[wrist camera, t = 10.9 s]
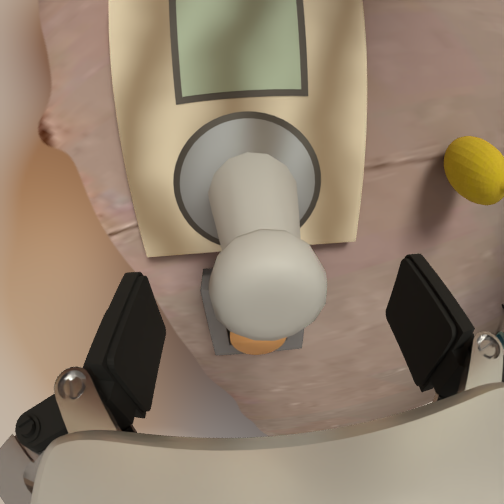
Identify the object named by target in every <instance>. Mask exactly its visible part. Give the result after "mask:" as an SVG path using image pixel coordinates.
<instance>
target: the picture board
mask: <svg viewBox="0 0 504 504" xmlns="http://www.w3.org/2000/svg"><path fill="white" fill-rule="evenodd" d="M109 45H110V61H111V73H112V83H113V93H114V101H115V109H116V116H117V123H118V130H119V136H120V142H121V148H122V153H123V159H124V164H125V169H126V174H127V179H128V183H129V188H130V193H131V197H132V201H133V206H134V210H135V214H136V218H137V222H138V226H139V230H140V233H141V237H142V241H143V244H144V248H145V251H146V255H147V257H158V256H170V255H183V254H196V253H209V252H221V251H222V249H221V245H220V241H219V237H218V233H217V229H216V225H215V221H214V217H213V214H212V210H211V206H210V201H209V196H208V192H209V188H210V185H211V182H212V179H213V175H214V174H215V173H216V171H217V170H218V169H219V168H220V167H221V166H222V165H223V164H224V163H225V162H226V161H227V160H228V159H230V158H233V157H235V156H238V155H241V154H244V153H246V152H251V153H262V154H268V155H270V156H272V157H273V158H275V159H277V160H278V161H280V162H281V163H283V164H285V165H286V166H287V168H288V169H289V171H290V172H291V174H292V176H293V177H294V179H295V181H296V184H297V195H298V208H299V221H300V236H301V240H303V241H305V242H306V243H308V244H309V245H314V244H327V243H341V242H354V241H355V240H356V234H357V226H358V219H359V211H360V203H361V194H362V184H363V173H364V160H365V145H366V125H367V55H366V36H365V23H364V12H363V2H362V0H109Z"/></svg>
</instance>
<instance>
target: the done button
mask: <svg viewBox="0 0 504 504" xmlns="http://www.w3.org/2000/svg"><path fill="white" fill-rule="evenodd" d="M286 338H287V337H286ZM286 338H282V339H279V340H275V341H261V340H252V339H249V338H246V337H243V336H240V335H237V334H235V333H232V332H230V341H231V344H232V345H233V347H234V348H236V349H237V350H238V351H240V352H243V353H246V354H252V355H260V354H266V353H270V352H272V351H274V350H276V349H278V348H279V347H281V346H282V345H283V343H284V342H285V340H286Z"/></svg>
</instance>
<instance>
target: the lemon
mask: <svg viewBox="0 0 504 504" xmlns="http://www.w3.org/2000/svg"><path fill="white" fill-rule="evenodd" d="M444 170H445V174H446V177H447V179H448V181H449V183H450V184H451V185H452V187H453V188H454V189H455V190H456V191H457V192H458V193H459V194H460V195H461V196H463V197H464V198H466V199H468V200H469V201H471V202H474V203H477V204H481V205H492V204H495V203H497V202H499V201H500V200H501V199H502V198H503V197H504V157H503V155H502V154H501V153H500V152H499V151H498V150H497V149H496V148H495V147H494V146H493V145H491V144H490V143H488V142H487V141H485V140H483V139H481V138H477V137H472V136H464V137H460V138H457V139H456V140H454V141H453V142H452V143H451V144H450V145H449V146H448V148H447V150H446V152H445V156H444Z"/></svg>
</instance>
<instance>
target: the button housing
mask: <svg viewBox="0 0 504 504" xmlns="http://www.w3.org/2000/svg"><path fill="white" fill-rule="evenodd" d="M212 270H213V269H203V275H202V283H201V295H202V300H203V304H204V308H205V313H206V317H207V322H208V326H209V330H210V334H211V338H212V342H213V346H214V350H215V354H216V355H231V354H246V353H243V352H240V351H238V350H237V349H236V348H234V347H233V345H232V344H231V341H230V331H229V330H228V329H227V328H226V327H225V326H224V325H223V324H222V323H221V322H220V321H219V320H218V319H217V318H216V316H215V313H214V309H213V306H212V303H211V299H210V294H209V288H208V287H209V281H210V276H211V273H212ZM303 334H304V329H302V330H301V331H299V332H298V333H296V334H295V335H292V336H289V337H287V338H286V340H285V342H284V343H283V345H282V346H281V347H279V348H278V349H276V350H274V351H281V350H290V349H299V348H302V343H303Z"/></svg>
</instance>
